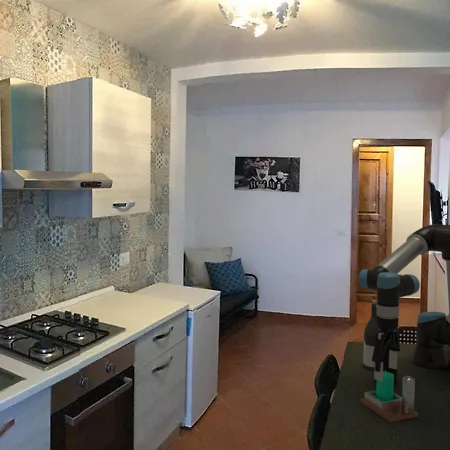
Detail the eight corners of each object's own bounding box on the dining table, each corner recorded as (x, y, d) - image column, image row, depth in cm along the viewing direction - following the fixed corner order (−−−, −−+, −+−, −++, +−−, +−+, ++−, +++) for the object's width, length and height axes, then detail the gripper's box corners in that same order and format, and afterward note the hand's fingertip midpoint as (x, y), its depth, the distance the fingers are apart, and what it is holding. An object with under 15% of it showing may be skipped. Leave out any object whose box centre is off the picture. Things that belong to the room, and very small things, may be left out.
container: (398, 387, 191) (400, 338, 189) (375, 385, 193) (376, 336, 191) (395, 378, 199) (397, 331, 198) (373, 376, 201) (374, 330, 199)
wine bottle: (381, 371, 206) (384, 303, 204) (362, 369, 209) (364, 301, 207) (382, 365, 214) (384, 299, 212) (363, 363, 217) (365, 297, 214)
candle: (372, 400, 175) (373, 368, 174) (384, 397, 178) (385, 365, 177) (384, 407, 170) (385, 374, 169) (396, 403, 173) (398, 371, 172)
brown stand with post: (387, 397, 181) (389, 362, 180) (418, 416, 166) (419, 379, 165) (361, 402, 177) (362, 366, 176) (389, 422, 162) (391, 383, 161)
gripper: (390, 307, 183) (388, 361, 185) (362, 322, 164) (361, 382, 166) (410, 310, 178) (408, 366, 180) (384, 326, 159) (382, 387, 161)
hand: (385, 373), depth 173 cm, fingers open, 13 cm apart
